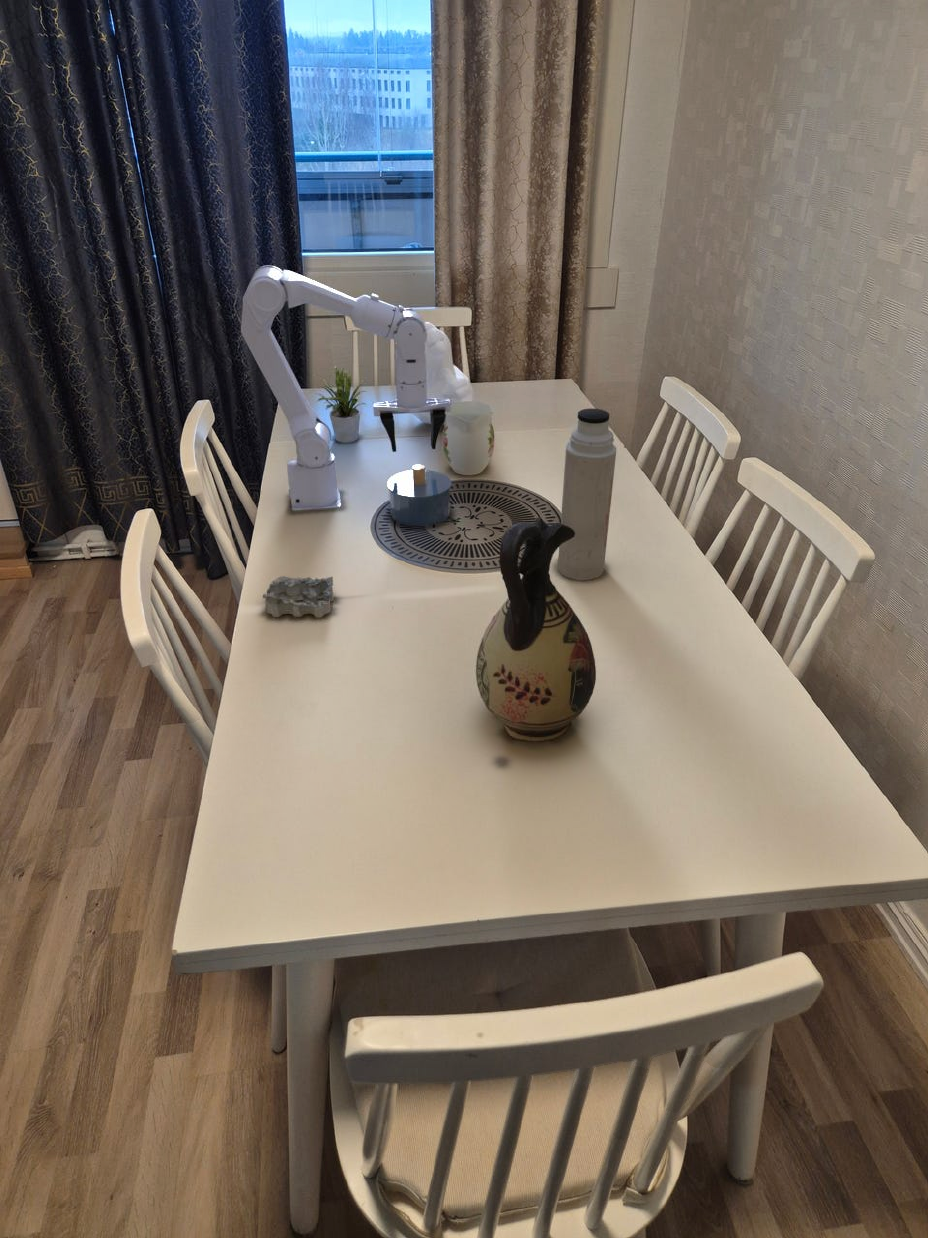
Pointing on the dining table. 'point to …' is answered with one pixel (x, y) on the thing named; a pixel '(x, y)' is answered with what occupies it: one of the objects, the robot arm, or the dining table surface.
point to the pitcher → (468, 437)
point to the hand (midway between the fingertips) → (413, 448)
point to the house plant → (343, 408)
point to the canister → (420, 509)
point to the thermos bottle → (587, 495)
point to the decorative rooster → (442, 372)
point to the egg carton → (309, 594)
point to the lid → (419, 483)
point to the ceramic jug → (534, 642)
